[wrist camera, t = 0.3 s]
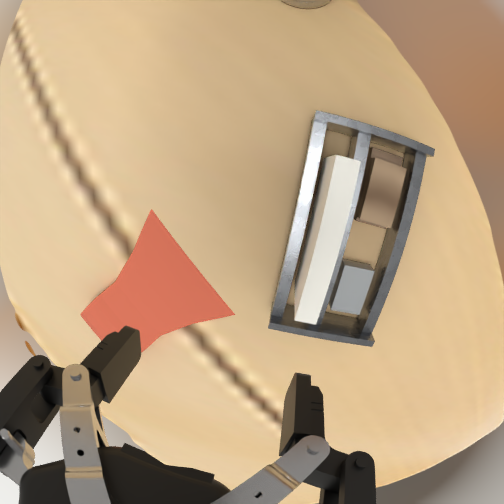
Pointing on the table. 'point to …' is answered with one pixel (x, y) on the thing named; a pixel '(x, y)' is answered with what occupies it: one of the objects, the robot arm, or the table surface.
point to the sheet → (155, 291)
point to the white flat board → (324, 235)
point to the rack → (392, 246)
